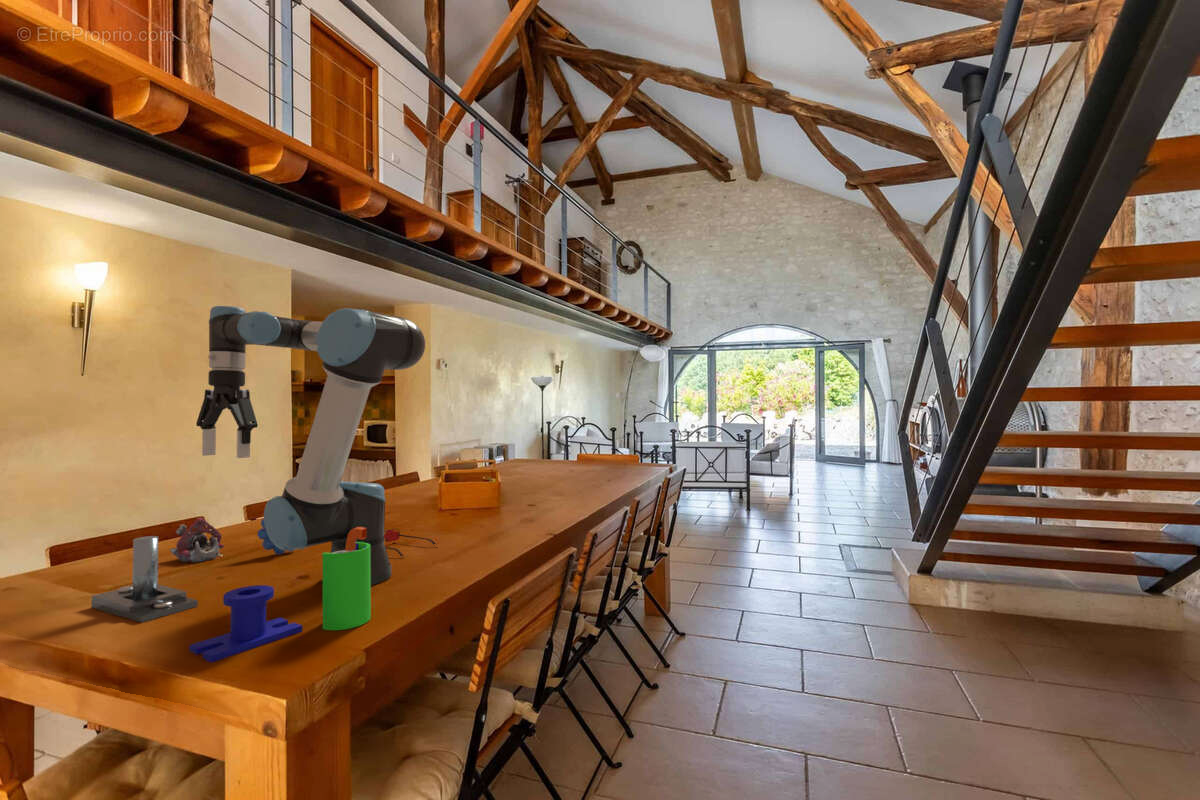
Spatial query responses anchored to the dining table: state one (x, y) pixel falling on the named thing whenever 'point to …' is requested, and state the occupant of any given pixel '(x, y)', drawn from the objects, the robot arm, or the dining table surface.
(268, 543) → the grapes
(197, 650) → the mount
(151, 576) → the pin
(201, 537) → the red grey peaked figurine
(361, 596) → the green half cylinder
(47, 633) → the dining table surface
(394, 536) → the glasses
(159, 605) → the slotted grey clamp plate
